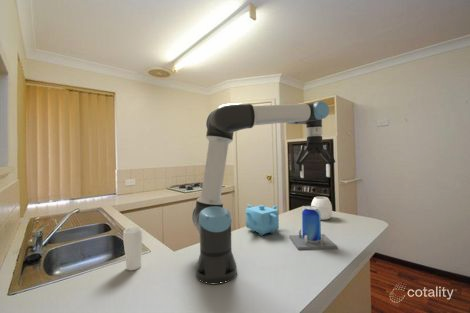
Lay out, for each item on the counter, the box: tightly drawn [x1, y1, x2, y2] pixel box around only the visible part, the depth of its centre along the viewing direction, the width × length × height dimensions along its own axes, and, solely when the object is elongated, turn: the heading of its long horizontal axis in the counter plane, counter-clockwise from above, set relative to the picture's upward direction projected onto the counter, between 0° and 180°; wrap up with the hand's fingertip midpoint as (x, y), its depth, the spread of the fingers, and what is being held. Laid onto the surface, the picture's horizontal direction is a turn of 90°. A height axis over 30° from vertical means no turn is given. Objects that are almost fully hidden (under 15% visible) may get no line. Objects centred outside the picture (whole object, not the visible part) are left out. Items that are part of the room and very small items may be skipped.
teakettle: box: [243, 203, 280, 237], centre depth 122 cm, size 19×19×15 cm
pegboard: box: [288, 228, 338, 251], centre depth 106 cm, size 18×14×5 cm
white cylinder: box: [122, 226, 143, 271], centre depth 86 cm, size 7×7×15 cm
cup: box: [310, 196, 333, 221], centre depth 143 cm, size 13×13×14 cm
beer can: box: [301, 205, 322, 243], centre depth 106 cm, size 8×8×16 cm
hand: (315, 177), depth 112 cm, fingers open, 13 cm apart
